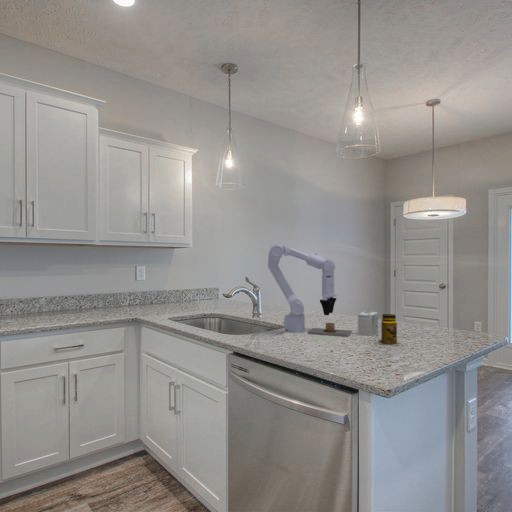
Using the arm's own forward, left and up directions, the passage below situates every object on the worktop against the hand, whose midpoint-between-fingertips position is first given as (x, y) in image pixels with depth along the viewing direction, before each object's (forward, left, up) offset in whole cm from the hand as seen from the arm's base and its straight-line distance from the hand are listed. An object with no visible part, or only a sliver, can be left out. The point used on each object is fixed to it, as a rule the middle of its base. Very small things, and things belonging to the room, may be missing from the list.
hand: (328, 314), depth 177 cm
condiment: (+27, -10, -10) cm, 30 cm away
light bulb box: (+18, +1, -10) cm, 20 cm away
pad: (+2, -18, -9) cm, 20 cm away
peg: (+2, -6, -9) cm, 11 cm away
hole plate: (+2, -6, -9) cm, 11 cm away
